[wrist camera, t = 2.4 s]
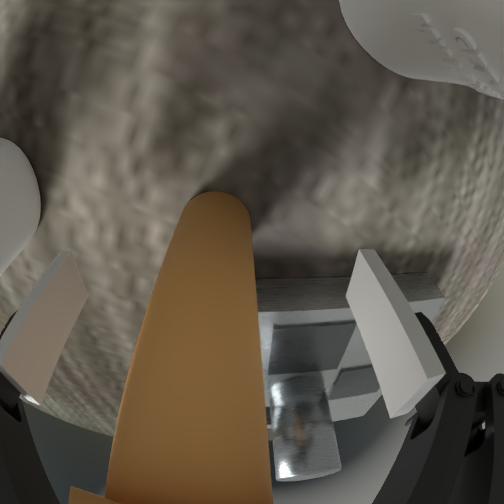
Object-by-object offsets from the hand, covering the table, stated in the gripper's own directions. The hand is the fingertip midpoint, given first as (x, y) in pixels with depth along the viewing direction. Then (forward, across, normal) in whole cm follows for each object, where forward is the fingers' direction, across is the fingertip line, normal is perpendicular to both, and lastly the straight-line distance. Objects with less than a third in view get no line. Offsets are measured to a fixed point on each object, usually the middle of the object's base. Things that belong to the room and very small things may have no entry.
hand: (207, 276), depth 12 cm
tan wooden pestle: (+5, 0, 0) cm, 5 cm away
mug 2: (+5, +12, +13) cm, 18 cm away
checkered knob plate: (+5, +6, -14) cm, 16 cm away
